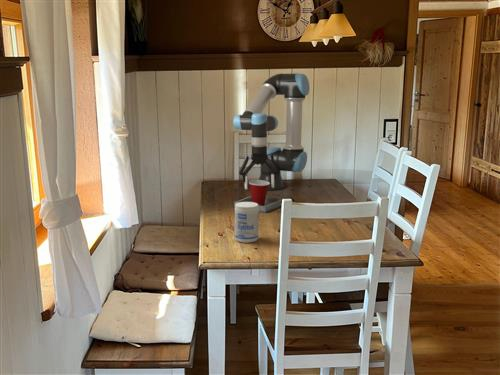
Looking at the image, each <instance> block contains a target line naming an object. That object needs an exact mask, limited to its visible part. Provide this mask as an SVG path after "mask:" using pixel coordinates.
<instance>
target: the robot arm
mask: <svg viewBox="0 0 500 375" xmlns="http://www.w3.org/2000/svg"><path fill="white" fill-rule="evenodd" d="M309 93H310V82H309V79H308V76H307V75H306V74H304V73H276V74H274V75H272V76H270V77H269V78H268V79H266V80H265V81H264V82H263V83H262V84H261V85H260V88H259V91H258V93H257V94H256V96H254V98H253V99H252V101H251V102H250V104H248V106H247V108H246V109H245V110H244V112H243V113H242V114H236V115H235V116H233V120H232V123H233V127H234V129H235V130H240V131H251V145H252V146H251V155H246V154H245V157H244V160H243V163H242V165H241V166H240V168H239V170H238V174H239V175H240V176H242V183H244V189H245V190H248V176H247V174H248V173H249V172H250V171H251V169H252V168H253V167H254V166H255V165H257V166H258V165H260V168H259V170H260V175H259V178H258V180H263V181H267V182H269V183H270V184H269V186H268V189H267V191H276V190H281V189H284V180H283V178H282V173H281V172H291V173H292V172H293V173H301V172H303V170H305V168H306V166H307V162H308V153H307V152H306V151H304V150H305V149H304V147H303V145H302V128H303V126H302V124H303V123H302V122H303V102H304V101H305V100H306V96H308V95H309ZM276 96H283V99H284V100H285V101H286V114H285V115H286V122H285V126H286V127H285V145H284V146H283V147H279V146H275V147H274V146H273V147H268V146H267V145H268V132H272V131H274V130H276V129H277V127H278V125H279V121H278V119H277V117H276V116H274V115H267V114H266V113H265V112H264V113H263V111H264V110H265V108H266V107H267V105H268V104H269V103H270V101H271V100H272V99H274V98H275V97H276ZM250 160H251V162H250V164H249V165H248V162H249V161H250Z"/></svg>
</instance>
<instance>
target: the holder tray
mask: <svg viewBox="0 0 500 375" xmlns="http://www.w3.org/2000/svg"><path fill="white" fill-rule="evenodd" d="M282 199H283V198H276V197H269V196H266V199H265V204H264V206H260V205H258V208H259V213H263V214H266V213H269V212H272V211H274V210H275V209H279V208H281V207H282V206H281V203H282ZM239 202H252V198H251V195H250V196H247V197H244V198H242V199H239V200H237V201H236V200H235V201H234V203H233V205H234V206H233V208H234V209H235V204H236V203H239ZM280 206H281V207H280ZM273 209H274V210H273Z"/></svg>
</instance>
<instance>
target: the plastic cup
mask: <svg viewBox="0 0 500 375" xmlns="http://www.w3.org/2000/svg"><path fill="white" fill-rule="evenodd" d="M247 184H248V185H249V190H250V196H251V198H252V202H254V203H257V204H258V205H260V206H264V204H265V199H266V197H267V192H268V190H267V189H268V186H269V184H270V183H269V182H267V181H263V180H259V179H251V180H247Z"/></svg>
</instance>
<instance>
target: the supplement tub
mask: <svg viewBox="0 0 500 375" xmlns="http://www.w3.org/2000/svg"><path fill="white" fill-rule="evenodd" d="M259 213H260V212H259V208H258V204H257V203H254V202H239V203H236V204H235V208H234V239H235V241H237V242H240V243H245V244H246V243H248V244H249V243H253V242H257V241H258V240H259V221H260V220H259V216H260V215H259Z"/></svg>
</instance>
